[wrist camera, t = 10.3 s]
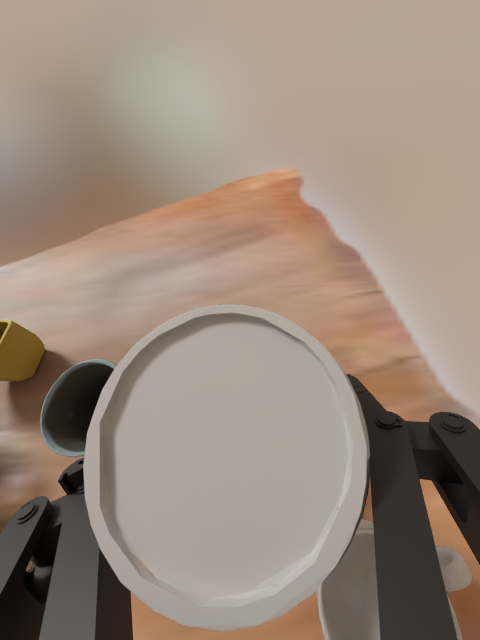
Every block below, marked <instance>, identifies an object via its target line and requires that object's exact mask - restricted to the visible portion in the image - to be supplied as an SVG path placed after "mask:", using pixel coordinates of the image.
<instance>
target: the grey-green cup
mask: <svg viewBox="0 0 480 640" xmlns="http://www.w3.org/2000/svg"><path fill="white" fill-rule="evenodd" d="M116 366H117V365H115V364H113V363H111V362H109V361H106V360H101V359H91V360H87V361H83V362H81V363H78V364H76V365H74V366H73V367H71V368H69V369H68V370H67V371H65V372H64V373H63V374H62V375H61V376H60V377H59V378H58V379H57V380H56V382H55V383H54V384H53V385H52V387H51V389H50V390H49V392H48V394H47V396H46V398H45V400H44V403H43V406H42V410H41V415H40V429H41V435H42V437H43V439H44V442H45V443H46V445H47V446H48V447H49V448H50V449H51V450H52V451H54V452H55V453H57V454H60V455H63V456H67V457H79V456H84V455H85V447H86V438H87V432H88V429H89V426H90V423H91V420H92V417H93V414H94V411H95V408H96V405H97V403H98V400H99V397H100V394H101V392H102V389H103V387H104V386H105V384H106V382H107V381H108V379H109V377H110V376H111V374H112V372H113V371H114V369H115V367H116Z"/></svg>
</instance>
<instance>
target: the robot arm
mask: <svg viewBox="0 0 480 640" xmlns="http://www.w3.org/2000/svg"><path fill="white" fill-rule="evenodd" d="M347 377H348V378H349V380H350V382H351V384H352V387H353V389H354V391H355V393H356V395H357V397H358V400H359V402H360V405H361V408H362V412H363V415H364V419H365V422H366V426H367V432H368V438H369V449H370V458H369V461H370V478H371V494H372V511H373V527H374V544H375V560H376V577H377V593H378V610H379V626H380V640H458V639H457V635H456V630H455V626H454V622H453V618H452V614H451V610H450V605H449V601H448V597H447V593H446V589H445V585H444V580H443V576H442V572H441V568H440V564H439V560H438V555H437V551H436V547H435V543H434V539H433V535H432V530H431V526H430V522H429V518H428V514H427V509H426V505H425V501H424V497H423V493H422V489H421V484H420V480H419V479H426V480H432V482H433V484H434V485H435V487H436V489H437V491H438V492H439V494H440V496H441V498H442V499H443V501H444V503H445V505H446V506H447V508H448V510H449V512H450V513H451V515H452V517H453V519H454V520H455V522H456V524H457V526H458V527H459V529H460V531H461V533H462V534H463V536H464V538H465V540H466V541H467V543H468V545H469V547H470V548H471V550H472V552H473V554H474V555H475V557H476V559H477V561H478V562H479V564H480V430H479V428H478V427H477V426H476V425H475V424H474V423H472V422H471V421H470V420H468V419H467V418H465V417H463V416H460V415H458V414H454V413H450V412H439V413H435V414H433V415H432V416H431V417H430V420H429V422H412V421H405V420H403V419H402V418H401V417H400V416H399V415H397V414H395V413H393V412H389V411H386V410H385V409H384V408H383V406H382V405H381V404H380V403H379V402H378V401H377V400H376V399H375V398H374V396H373V395H372V394H371V393H370V392H368V390H367V389H366V388H365V386H363V384H362V383H361V382H360V381H359V380H358V379H357V378H355V377H353V376H351V375H350V374H347ZM83 464H84V458H82V459H79V460H77V461H76V462H74V463H73V464H71V465H70V466H69V467H68V468H67V469H65V471H64V472H63V473H62V474H61V476H60V478H59V480H58V482H59V483H60V485H61V486H62V488H63V489H64V491H65V492H66V494H67V495H65V496H63V497H61V498H59V499H57V500H55V501H53V502H51V503H50V501H49V500H48V499H47V497H44V496H40V497H36V498H34V499H32V500H30V501H29V502H27V503H26V504H24V505H23V506H22V507H21V508H20V509H19V510H18V511H17V512H16V513H14V515H13V516H12V517H11V519H10V520H9V521H8V523H7V525H6V526H5V528H4V529H3V531H2V533H1V534H0V640H133V630H132V612H131V593H130V590H129V589H128V588H126V587H125V586H124V585H123V584H122V583H121V582H120V581H119V579H118V577H117V576H116V574H115V572H114V571H113V569H112V568H111V566H110V564H109V563H108V561H107V559H106V558H105V556H104V554H103V553H102V551H101V550H100V547H99V545H98V542H97V539H96V537H95V534H94V532H93V529H92V527H91V523H90V519H89V514H88V510H87V505H86V501H85V491H84V471H83ZM30 560H31V561H32V562H33V563H32V566H31V568H30V569H29V571H28V572H26V571H25V570H26V567H27V565H28V563H29V561H30Z"/></svg>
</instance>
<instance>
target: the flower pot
mask: <svg viewBox="0 0 480 640" xmlns="http://www.w3.org/2000/svg"><path fill="white" fill-rule="evenodd" d="M44 352H45V348H44V345H43V343H42V341H41V340H40V339H39V338H38V337H37V336H36V335H35V334H33V333H32V332H30V331H29V330H27V329H25V328H23V327H22V326H20V325H18V324H16V323H15V322H13V321H11V320H0V381H22V380H26V379H29V378H31V377H33V376H34V374H35V372H36V370H37V367H38V365H39V363H40V361H41V359H42V356H43V354H44Z"/></svg>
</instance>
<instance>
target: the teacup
mask: <svg viewBox="0 0 480 640" xmlns="http://www.w3.org/2000/svg"><path fill="white" fill-rule="evenodd" d="M435 547H436V551H437V555H438V560H439V564H440V568H441V572H442V576H443V580H444V585H445V589H446V592H447V591H457V590H461V589H463V588H466V587H467V586H468V585H469V584H470V583H471V580H472V573H471V570H470V568H469V566H468V564H467V562H466V561H465V560H464V558H463V557H462V556H461V555H460V554H459V553H458V552H457V551H456V550H454V549H452V548H449V547H446V546H435ZM316 595H317V601H318V610H319V617H320V622H321V626H322V630H323V633H324V637H325V640H380V626H379V610H378V593H377V577H376V560H375V544H374V527H373V522H371V521H368V520H365V519H361V522H360V524H359V526H358V529H357V531H356V533H355V536H354V538H353V540H352V543H351V545H350V547H349V549H348V550H347V552H346V553H345V555H344V556H343V558H342V559H341V561H340V562H339V564H338V565H337V567H336V568H335V570H334V571H333V572H332V573H331V574H330V575H329V576H328V577H327V578H326V579H325V580H324V581H323V582H322V583H321V584H320V586H319V587H318V588H317V589H316ZM447 597H448V595H447ZM448 601H449V605H450V610H451V614H452V618H453V622H454V626H455V630H456V635H457V639H458V640H462V635H461V631H460V627H459V623H458V620H457V617H456V614H455V611H454V609H453V606H452V604H451V602H450V599H449V597H448Z"/></svg>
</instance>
